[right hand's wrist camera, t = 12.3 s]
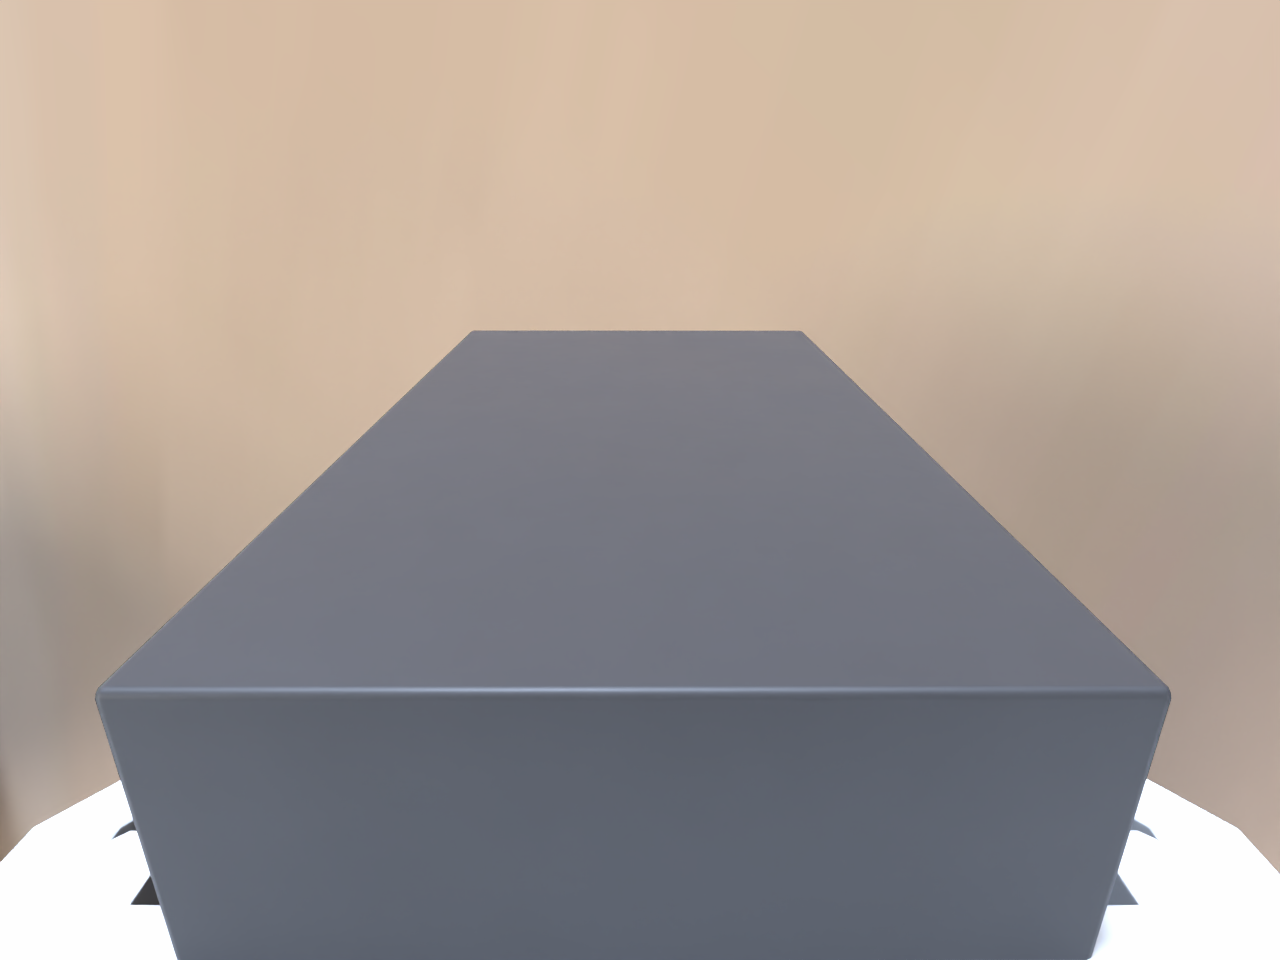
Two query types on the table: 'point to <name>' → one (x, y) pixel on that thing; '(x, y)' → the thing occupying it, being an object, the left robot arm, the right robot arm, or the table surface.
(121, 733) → the box
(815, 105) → the table surface
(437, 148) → the table surface
